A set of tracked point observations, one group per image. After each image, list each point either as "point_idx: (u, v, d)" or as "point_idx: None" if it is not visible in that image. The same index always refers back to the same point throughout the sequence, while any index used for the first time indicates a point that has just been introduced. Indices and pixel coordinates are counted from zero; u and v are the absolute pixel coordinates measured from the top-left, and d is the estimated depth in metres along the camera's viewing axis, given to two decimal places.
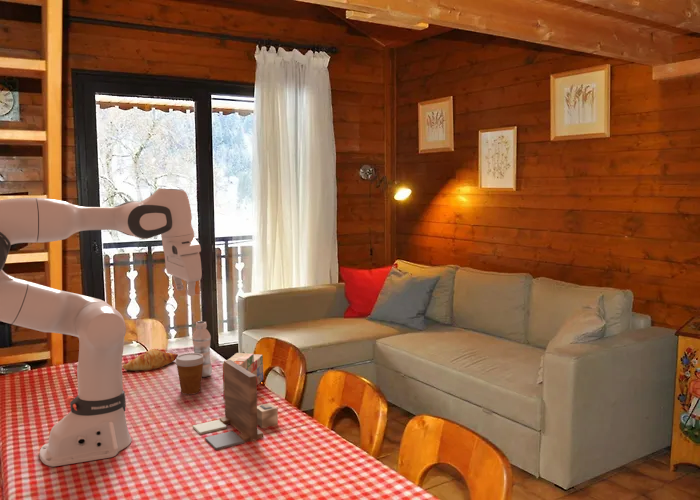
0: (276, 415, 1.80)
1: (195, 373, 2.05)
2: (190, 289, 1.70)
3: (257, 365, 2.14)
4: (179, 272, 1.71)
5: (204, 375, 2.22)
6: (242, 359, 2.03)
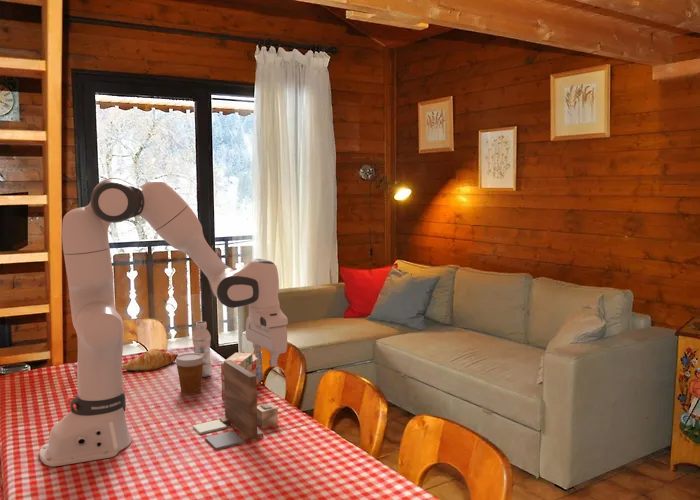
0: (276, 415, 1.80)
1: (195, 373, 2.05)
2: (273, 360, 1.74)
3: (256, 365, 2.15)
4: (263, 342, 1.75)
5: (204, 375, 2.22)
6: (241, 359, 2.04)
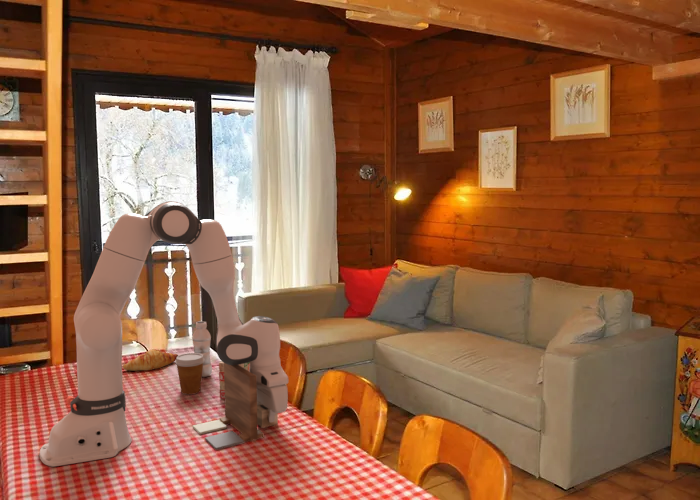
0: (276, 414, 1.80)
1: (195, 373, 2.05)
2: (271, 416, 1.77)
3: None
4: (263, 399, 1.77)
5: (204, 375, 2.22)
6: None
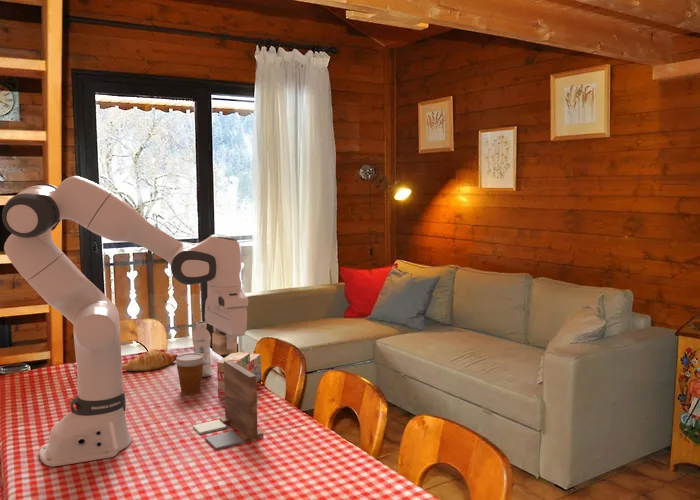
0: (235, 342, 1.66)
1: (195, 373, 2.05)
2: (229, 342, 1.63)
3: (254, 364, 2.15)
4: (221, 324, 1.63)
5: (204, 375, 2.22)
6: (237, 358, 2.04)
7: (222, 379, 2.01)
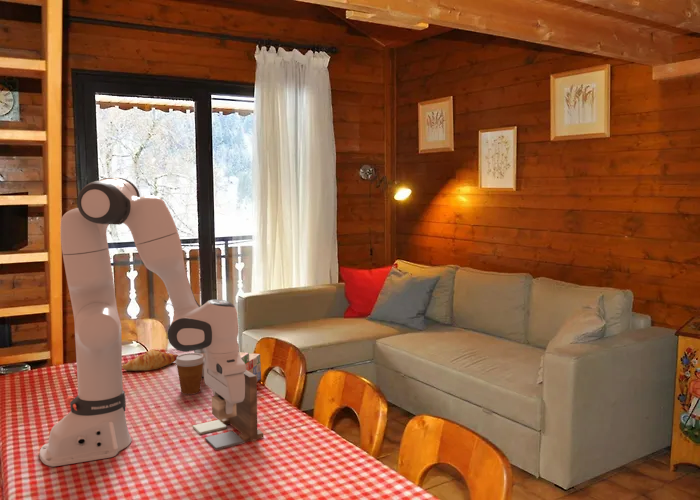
0: (234, 405, 1.67)
1: (195, 373, 2.05)
2: (228, 407, 1.64)
3: (253, 364, 2.15)
4: (220, 389, 1.64)
5: None
6: None
7: None
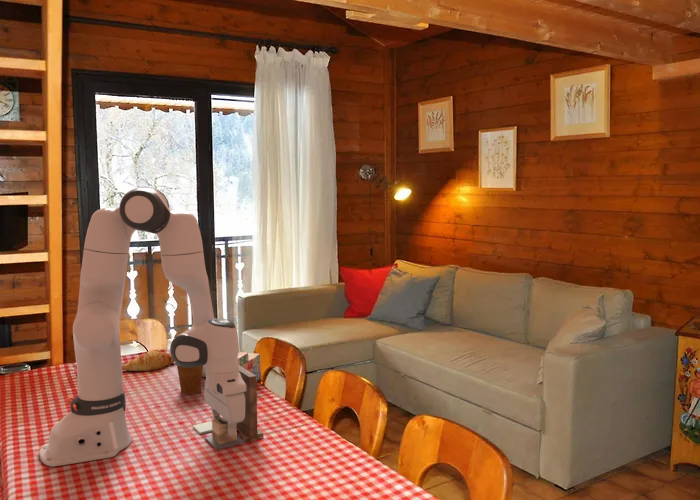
0: (235, 430, 1.68)
1: (195, 373, 2.05)
2: (230, 428, 1.63)
3: (253, 364, 2.16)
4: (220, 409, 1.65)
5: (204, 375, 2.22)
6: None
7: None
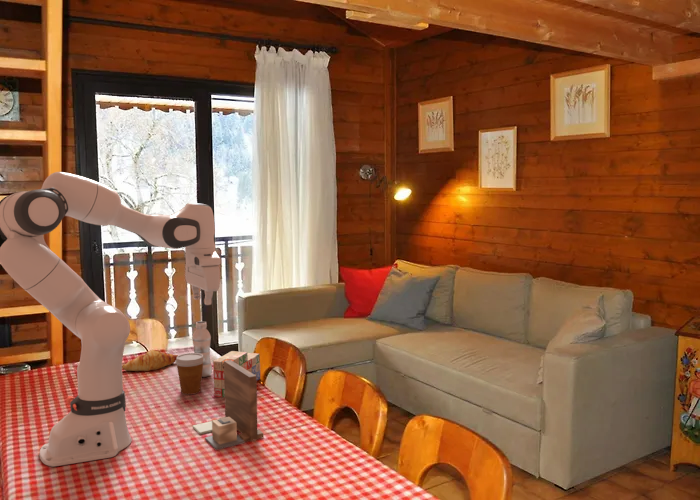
0: (235, 430, 1.68)
1: (195, 373, 2.05)
2: (207, 298, 1.83)
3: (252, 364, 2.16)
4: (198, 282, 1.84)
5: (204, 375, 2.22)
6: (233, 357, 2.05)
7: (218, 378, 2.03)
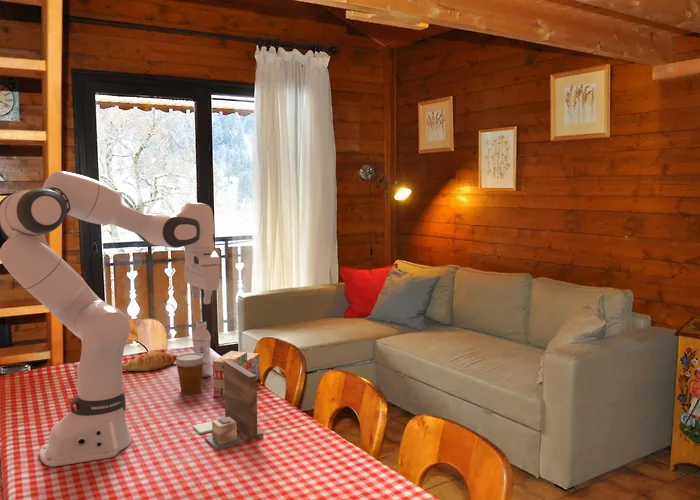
0: (235, 430, 1.68)
1: (195, 373, 2.05)
2: (206, 298, 1.84)
3: (252, 364, 2.16)
4: (197, 281, 1.85)
5: (204, 375, 2.22)
6: (233, 357, 2.06)
7: (217, 378, 2.03)
